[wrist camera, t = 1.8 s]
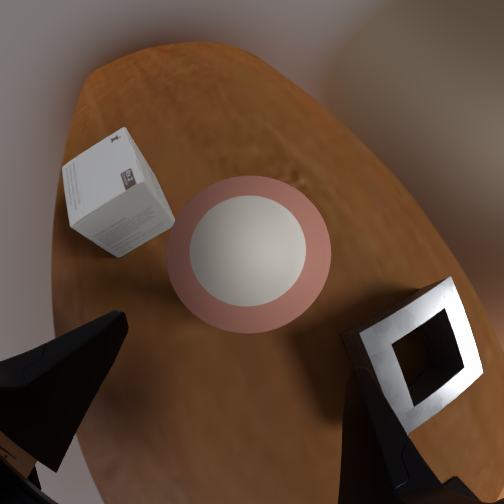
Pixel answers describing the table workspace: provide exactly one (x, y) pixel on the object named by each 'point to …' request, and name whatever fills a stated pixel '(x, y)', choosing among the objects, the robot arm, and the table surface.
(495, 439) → the table surface
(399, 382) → the block
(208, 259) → the pin
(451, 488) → the phone stand
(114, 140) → the skincare box
